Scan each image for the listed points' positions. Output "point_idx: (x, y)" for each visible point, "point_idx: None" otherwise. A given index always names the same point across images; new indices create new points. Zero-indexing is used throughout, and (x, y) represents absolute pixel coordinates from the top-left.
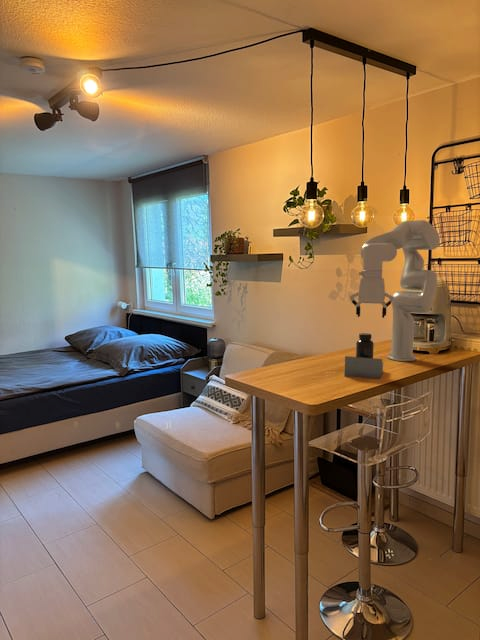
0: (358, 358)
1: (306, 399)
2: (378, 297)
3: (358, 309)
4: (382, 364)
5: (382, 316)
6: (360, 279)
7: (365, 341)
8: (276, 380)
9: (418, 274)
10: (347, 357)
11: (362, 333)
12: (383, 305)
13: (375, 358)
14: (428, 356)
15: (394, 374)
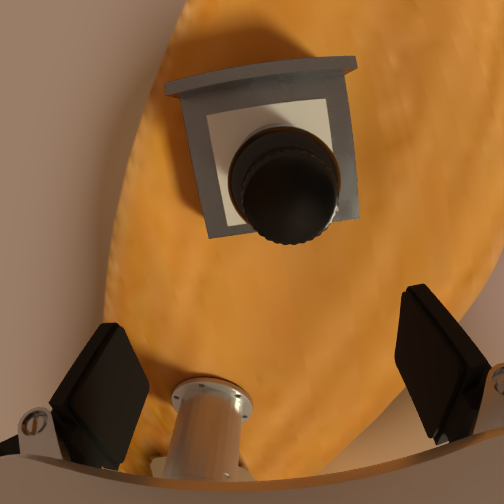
0: (285, 60)
1: None
2: None
3: (462, 340)
4: (197, 185)
5: (113, 331)
6: None
7: (273, 144)
8: None
9: None
10: (342, 56)
11: (318, 218)
12: (47, 441)
13: (198, 85)
14: (164, 433)
15: (164, 198)
